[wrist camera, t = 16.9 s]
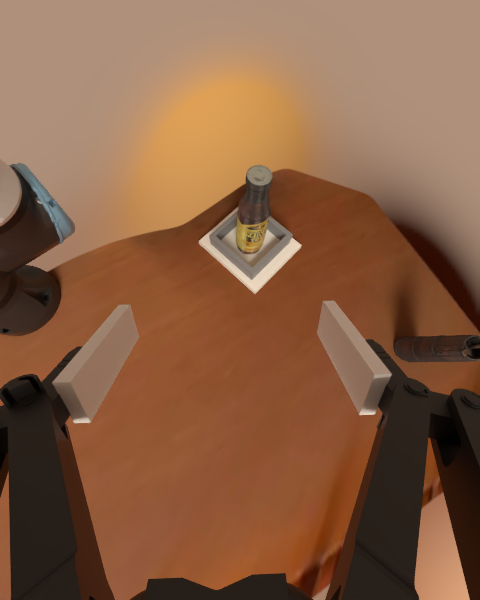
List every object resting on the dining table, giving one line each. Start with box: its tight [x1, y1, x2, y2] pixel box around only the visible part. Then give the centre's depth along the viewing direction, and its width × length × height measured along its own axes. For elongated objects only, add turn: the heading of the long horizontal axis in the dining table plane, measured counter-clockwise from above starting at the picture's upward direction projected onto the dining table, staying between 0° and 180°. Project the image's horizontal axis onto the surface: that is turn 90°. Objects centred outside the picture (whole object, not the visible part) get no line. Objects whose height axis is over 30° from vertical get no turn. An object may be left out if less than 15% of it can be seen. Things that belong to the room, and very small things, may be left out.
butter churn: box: [394, 335, 480, 362], centre depth 36 cm, size 9×10×28 cm
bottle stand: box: [199, 207, 302, 294], centre depth 53 cm, size 18×16×5 cm
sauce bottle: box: [236, 165, 272, 254], centre depth 45 cm, size 6×6×20 cm
